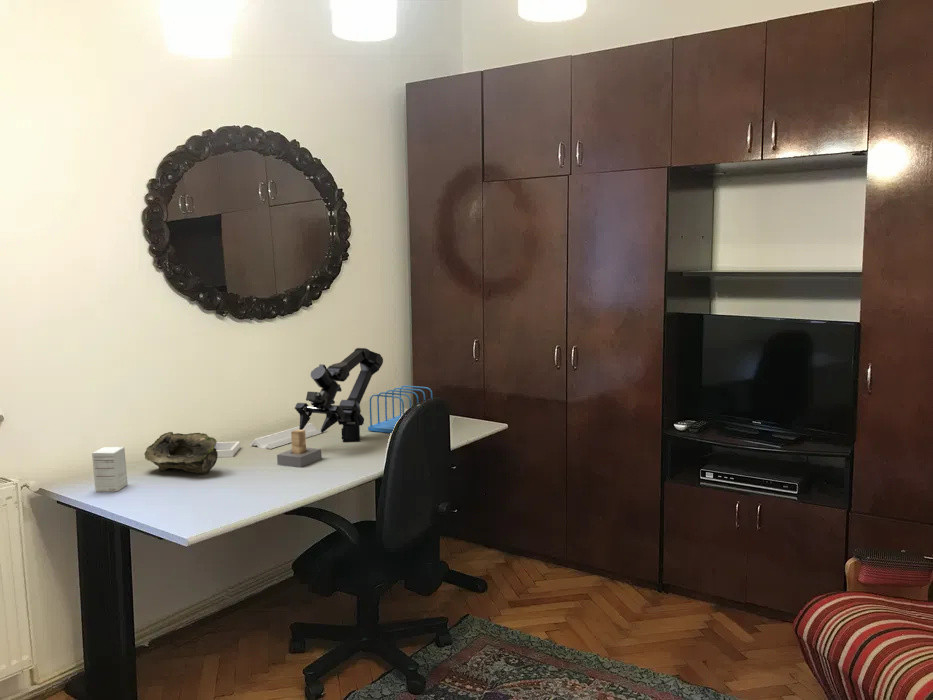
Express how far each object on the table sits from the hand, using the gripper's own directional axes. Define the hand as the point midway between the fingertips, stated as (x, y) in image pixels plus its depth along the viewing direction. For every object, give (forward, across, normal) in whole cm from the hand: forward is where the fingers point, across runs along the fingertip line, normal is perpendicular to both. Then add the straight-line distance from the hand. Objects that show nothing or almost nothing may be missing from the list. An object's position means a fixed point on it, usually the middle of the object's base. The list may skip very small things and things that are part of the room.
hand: (310, 430), depth 284 cm
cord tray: (+12, -36, +1) cm, 38 cm away
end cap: (+12, 0, +1) cm, 12 cm away
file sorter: (-30, +7, +45) cm, 54 cm away
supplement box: (+45, -38, -32) cm, 67 cm away
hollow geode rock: (+29, -30, -16) cm, 44 cm away
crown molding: (-6, -25, +21) cm, 33 cm away
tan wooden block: (+11, 0, +1) cm, 11 cm away
